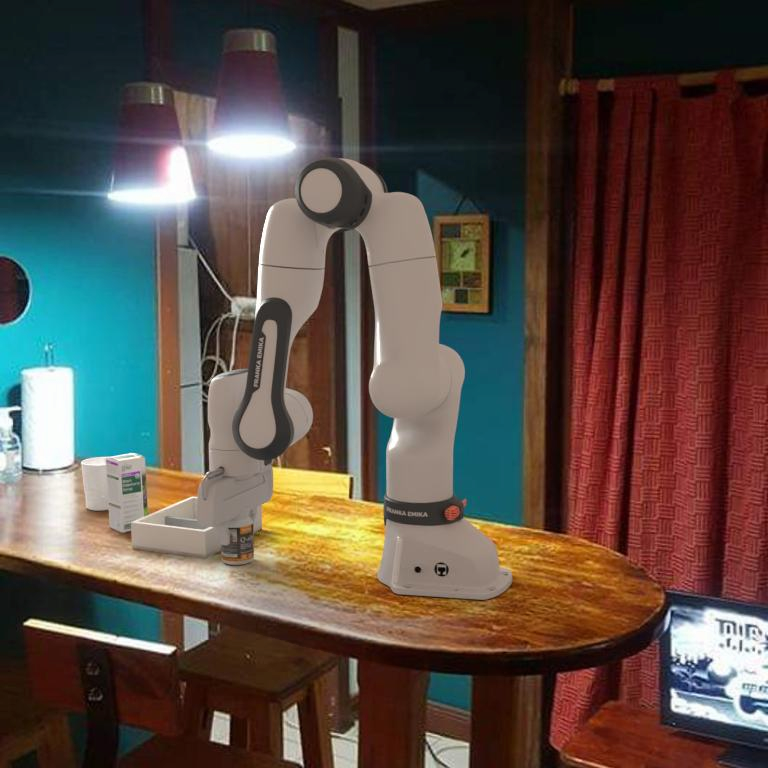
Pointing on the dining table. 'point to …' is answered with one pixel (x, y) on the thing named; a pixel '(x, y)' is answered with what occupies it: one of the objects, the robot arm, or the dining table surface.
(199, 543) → the box
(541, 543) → the dining table surface
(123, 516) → the syrup box
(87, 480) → the white cup
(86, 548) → the dining table surface
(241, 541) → the pill bottle
